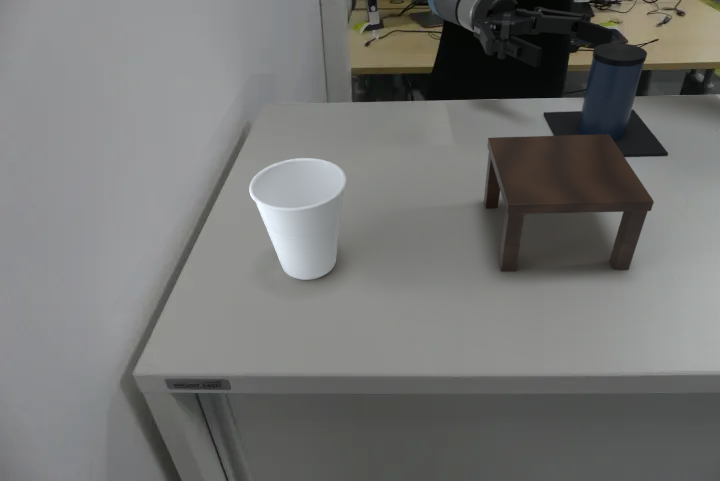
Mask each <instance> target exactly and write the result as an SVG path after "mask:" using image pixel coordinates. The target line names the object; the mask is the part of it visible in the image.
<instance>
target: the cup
mask: <svg viewBox="0 0 720 481" xmlns="http://www.w3.org/2000/svg"><path fill="white" fill-rule="evenodd" d="M347 180H348V178H347V176H346V173H345V171H344V170H343V169H342V168H341V167H340V166H338V165H337V164H336V163H334V162H331V161H328V160H326V159H322V158H316V157H315V158H314V157H296V158H290V159H284V160H281V161H278V162H275V163H272V164H270V165H268V166H266V167H264V168H263V169H261V170H260V171H258V172H257V173H256V174H255V175H254V176H253V178H252V179H251V181H250V183H249V187H248V190H249V195H250V197H251V199H252V200H253V201H254V202H255V205H256V206H257V209H258V212H259V214H260V216H261V219H262V222H263V223H264V226H265V229H266V230H267V234H268V236H269V238H270V240H271V243H272V246H273V248H274V250H275V253H276V256H277V258H278V260H279V263H280V265H281V267H282V270H283V272H284V273H286V274H287V276H289V277H291V278H294V279H297V280H303V281H308V280H309V281H310V280H315V279H319V278H321V277H324V276H325V275H327V274H329V273H330V272H331V271H332V270H333V269H334V267H335V265H336V263H337V256H338V245H339V238H340V236H339V235H340V226H341V217H342V208H343V198H344V191H345V188H346V185H347Z"/></svg>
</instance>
